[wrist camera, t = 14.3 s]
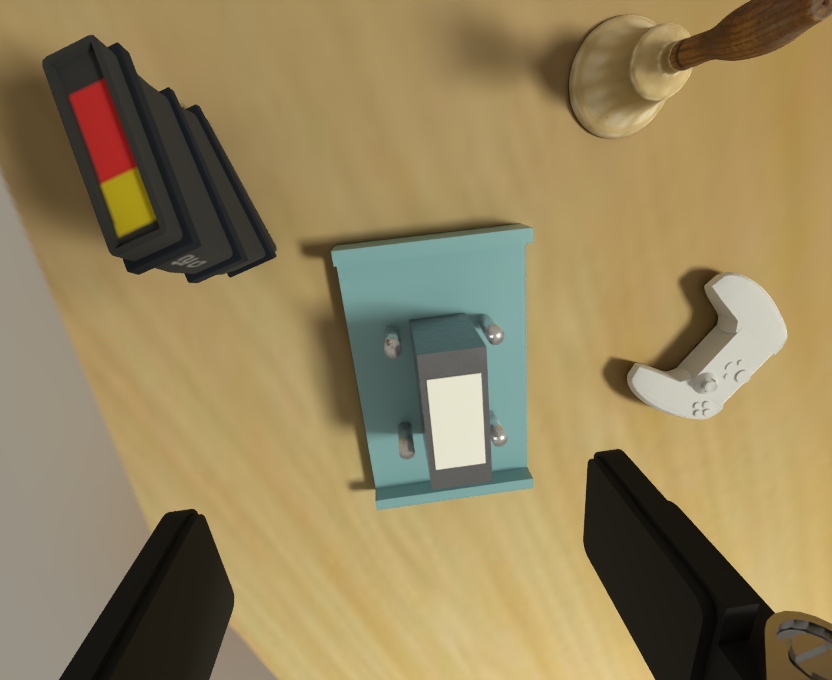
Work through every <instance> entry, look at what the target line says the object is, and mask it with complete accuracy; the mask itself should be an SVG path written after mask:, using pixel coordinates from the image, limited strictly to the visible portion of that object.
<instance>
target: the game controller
mask: <svg viewBox="0 0 832 680" xmlns="http://www.w3.org/2000/svg"><path fill="white" fill-rule="evenodd" d="M704 289H705V292H706V295H707V297H708V299H709V301H710V302H711V304H712V305H713V307H714V309H715V310H716V311H717V315H718V322H717V325H716V326H715V327H714V328H713V329H712V330H711V331H710V332H709V334H708V335H707V336H706V337H705V338H704V339H703V340H702V341H701V342H700V343H699V344H698V345H697V346H696V348H695V349H694V350H693V351H692V352H691V353H690V354H689V355H688V356H687V357H686V358H685V359H684V360H683V361H682V363H681V364H680V365H679V366H678V367H677V368H676V369H673V370H670V371H661V370H658V369H655V368H652V367H650V366H647V365H643V364H639V363H635V364H634V366H633V367H632V368H631V370H630V371H629V373H628V375H627V382H628V385H629V387H630V389H631V390H632V392H633V393H634V394H635V395H636V396H637V397H638V398H639V399H640V400H641V401H643V402H644V403H646V404H647V405H649V406H651V407H653V408H655V409H657V410H659V411H662V412H664V413H667V414H670V415H674V416H679V417H686V418H693V419H707V418H710V417H712V416H714V415H715V414H717V413H718V412H719V411H720V410H721V409H722V408H723V407H724V406H723V404H724V402H725V401H726V400H727V399H728V398H729V397H730V396H731V395H732V394H733V393H734V392H735V391H736V390H737V389H738V388H739V387H740V386H741V385H742V384H743V383H746V382H747V381H749V379H750V377H751V375H752V374H753V373H754V372H755V371H756V370H757V369H758V368H759V367H760V366H761V365H762V364H763V363H764V362H765V361H766V360H767V359H768V358H769V357H770V356H771V355H775V354H776V353H777V352H778V351H779V350H780V349H781V348H782V347H783V345H784V343H785V341H786V340H787V330H786V326H785V323H784V320H783V318H782V316H781V314H780V312H779V310H778V308H777V307H776V305H775V303H774V301H773V300H772V298H771V297H770V296H769V294H768V293H767V292H766V291H765V290H764V289H763V288H762V287H761V286H760V285H758V284H757V283H756V282H754V281H753V280H751V279H749V278H747V277H745V276H743V275H741V274H737V273H731V272H726V273H720V274H718V275H716V276H715V277H713V278H712V279H711V280H710V281H709V282H708V283H707V284H706V285H705V286H704Z"/></svg>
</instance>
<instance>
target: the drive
mask: <svg viewBox="0 0 832 680" xmlns="http://www.w3.org/2000/svg"><path fill="white" fill-rule="evenodd" d="M409 322H410V331H411V339H412V348H413V357H414V366H415V374H416V383H417V392H418V400H419V409H420V418H421V426H422V435H423V441H424V447H425V452H426V458H427V464H428V470H429V476H430V482H431V488H432V490H435V489H442V488H449V487H457V486H464V485H471V484H478V483H485V482H492V460H491V437H490V414H489V391H488V368H487V346H486V345H485V343H484V342H483V340H482V339H481V337H480V335H479V334H478V332H477V331H476V329H475V328H474V326H473V324H472V323H471V321H470V320H469V318H468V317H467V315H466V313H458V314H450V315H442V316H434V317H426V318H418V319H410V320H409Z"/></svg>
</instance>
